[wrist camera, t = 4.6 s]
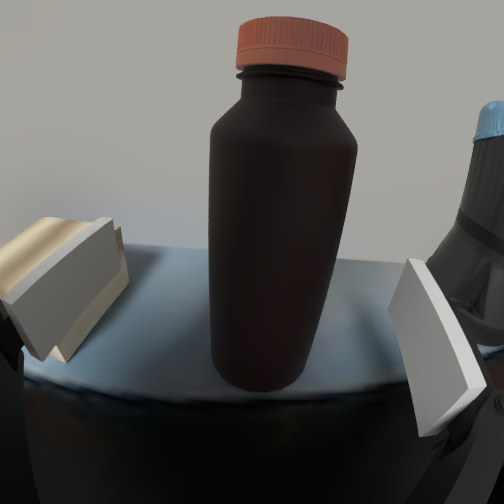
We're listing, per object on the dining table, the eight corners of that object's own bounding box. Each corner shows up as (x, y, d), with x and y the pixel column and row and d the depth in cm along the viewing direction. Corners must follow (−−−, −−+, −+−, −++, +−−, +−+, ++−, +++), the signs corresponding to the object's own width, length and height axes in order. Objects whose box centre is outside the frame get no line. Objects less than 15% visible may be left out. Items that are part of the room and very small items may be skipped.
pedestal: (129, 282, 26) (120, 226, 23) (66, 363, 16) (35, 301, 13) (56, 264, 27) (44, 216, 24) (-5, 322, 17) (-29, 269, 14)
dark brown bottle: (212, 396, 16) (216, 0, 6) (211, 324, 22) (218, 40, 12) (314, 390, 17) (399, 37, 7) (295, 322, 23) (336, 55, 13)
